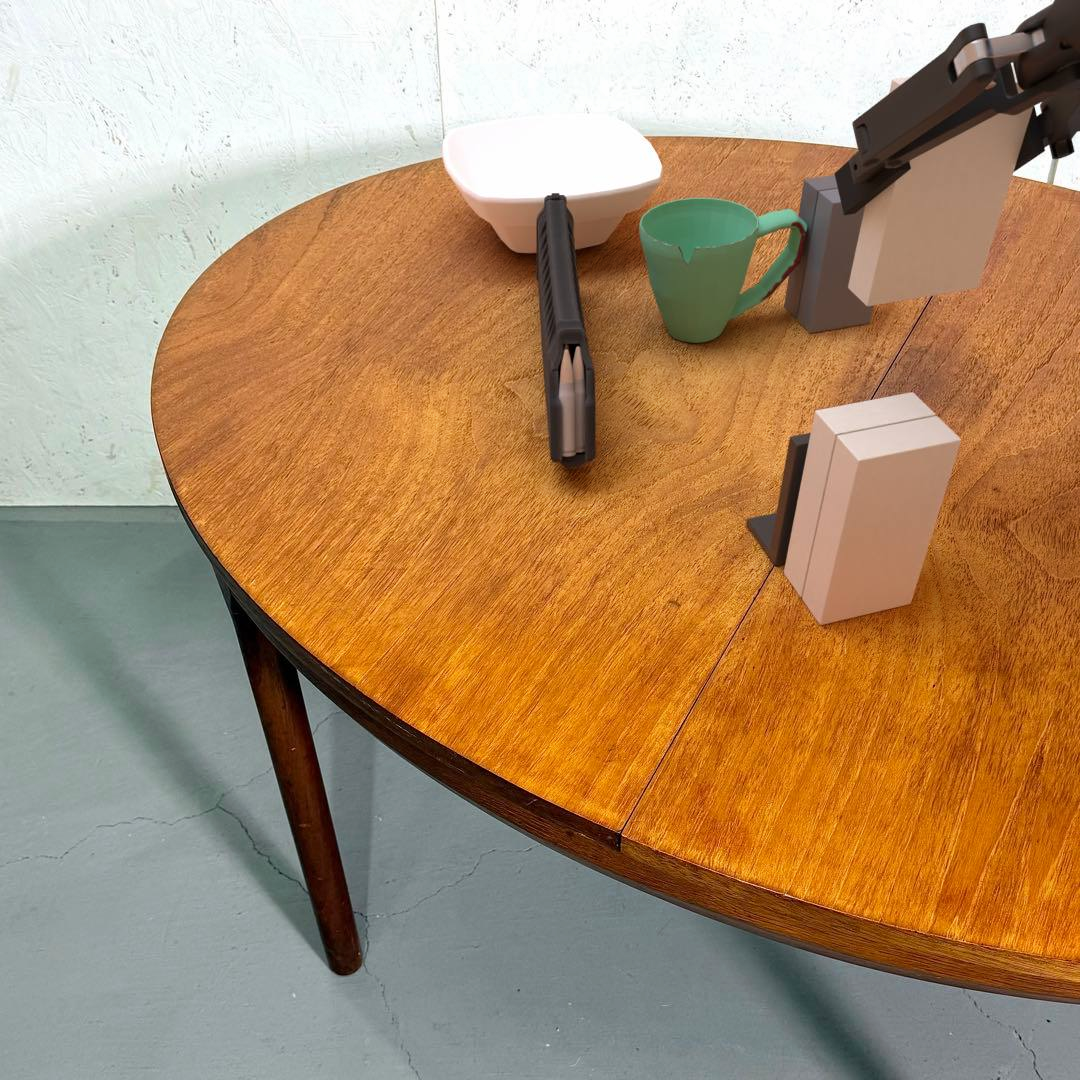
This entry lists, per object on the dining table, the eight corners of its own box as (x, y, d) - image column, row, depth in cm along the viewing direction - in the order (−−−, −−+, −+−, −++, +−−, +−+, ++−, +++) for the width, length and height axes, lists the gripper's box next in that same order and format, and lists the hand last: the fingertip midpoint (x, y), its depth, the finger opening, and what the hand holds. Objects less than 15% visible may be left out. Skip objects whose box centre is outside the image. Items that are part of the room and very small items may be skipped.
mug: (662, 367, 90) (664, 256, 83) (624, 314, 97) (623, 209, 90) (821, 333, 92) (835, 224, 86) (772, 284, 99) (781, 180, 93)
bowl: (469, 294, 99) (464, 207, 94) (434, 204, 115) (427, 124, 109) (678, 269, 103) (686, 183, 97) (617, 185, 118) (620, 106, 112)
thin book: (956, 270, 70) (1015, 64, 61) (978, 288, 68) (1042, 79, 59) (847, 288, 68) (891, 78, 59) (866, 306, 66) (915, 94, 58)
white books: (835, 505, 76) (871, 346, 67) (914, 603, 68) (966, 438, 60) (745, 524, 74) (770, 364, 66) (816, 626, 67) (854, 461, 58)
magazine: (534, 186, 96) (547, 237, 69) (570, 185, 96) (597, 236, 69) (538, 371, 103) (550, 484, 76) (571, 370, 103) (596, 483, 76)
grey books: (842, 296, 99) (867, 170, 91) (870, 323, 95) (899, 193, 87) (783, 306, 97) (803, 178, 89) (809, 333, 94) (833, 203, 86)
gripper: (1000, 69, 42) (767, 265, 64) (1414, 23, 46) (1062, 221, 69) (958, -111, 42) (741, 146, 65) (1373, -140, 47) (1036, 110, 69)
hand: (907, 184), depth 67 cm, fingers closed on thin book, 8 cm apart
